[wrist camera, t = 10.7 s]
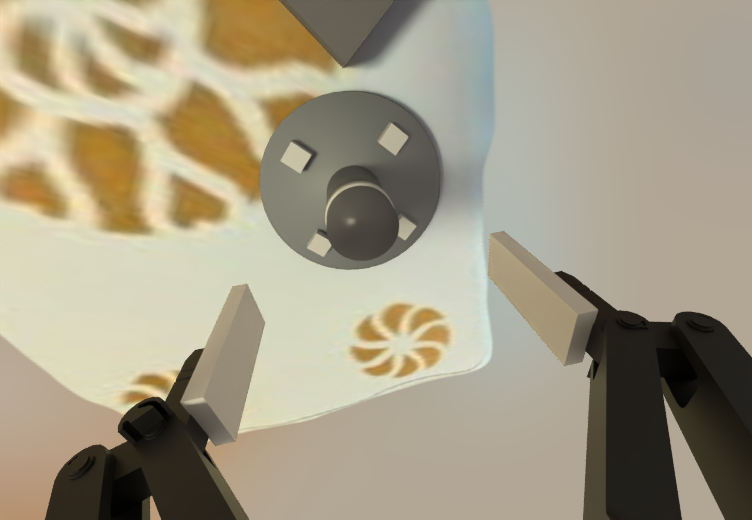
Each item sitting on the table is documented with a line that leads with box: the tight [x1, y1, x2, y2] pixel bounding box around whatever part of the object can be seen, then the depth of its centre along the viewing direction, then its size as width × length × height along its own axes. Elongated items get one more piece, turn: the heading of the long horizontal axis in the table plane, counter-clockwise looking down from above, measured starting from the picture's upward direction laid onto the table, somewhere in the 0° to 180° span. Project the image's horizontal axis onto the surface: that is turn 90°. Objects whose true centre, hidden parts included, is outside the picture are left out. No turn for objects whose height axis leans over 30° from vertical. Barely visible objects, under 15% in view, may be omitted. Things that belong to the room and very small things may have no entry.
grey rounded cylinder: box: [325, 165, 399, 261], centre depth 27 cm, size 6×6×9 cm
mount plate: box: [260, 91, 440, 270], centre depth 31 cm, size 18×18×2 cm
